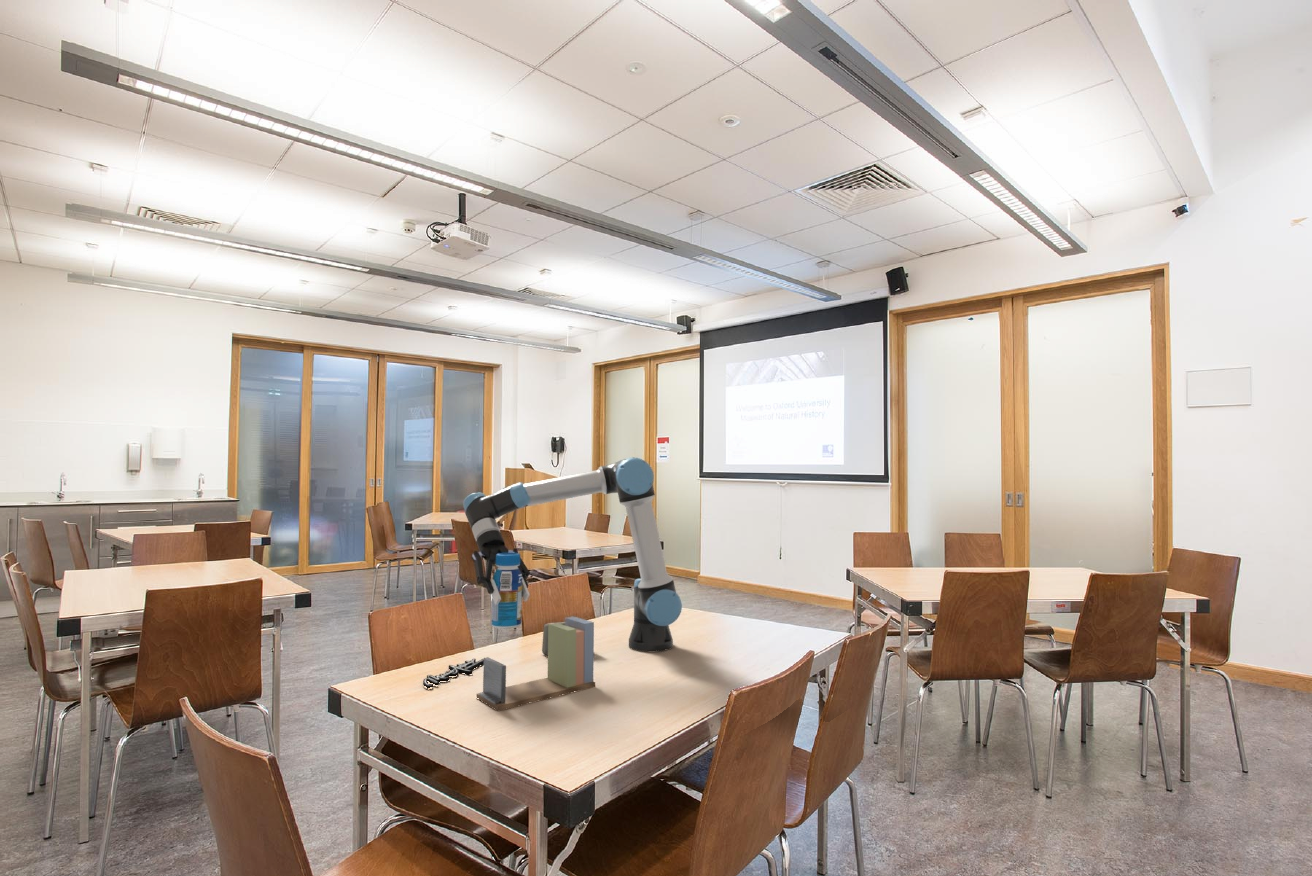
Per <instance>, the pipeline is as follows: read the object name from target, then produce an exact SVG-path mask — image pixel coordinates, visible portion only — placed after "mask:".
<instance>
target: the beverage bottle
mask: <svg viewBox="0 0 1312 876" xmlns="http://www.w3.org/2000/svg"><path fill="white" fill-rule="evenodd" d="M520 558H521V554H520V553H519V552H518V553H499V554H496V564H495V567H497V568H496V570H495V571H494V573H493V576H492V580H494V581H495V584H496V586H497V589H498V592H499V594H500V597H501V600H500V602H499V604H498V605H495V603H494V600H493V598H492V597H491V599H492V600H491V626H492V627H493V628H495V629H499V630H507V629H508V630H509V629H515V628H519V627H520V626H522V608H523V607H522V606H523V605H522V604H523V603H522V602H523V597H522V590H523V585H522V583H521V581H522V579H523V578H522V574H521V572H520V570H519V568H518V566H519V565H520Z"/></svg>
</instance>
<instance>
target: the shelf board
mask: <svg viewBox="0 0 1312 876" xmlns="http://www.w3.org/2000/svg"><path fill="white" fill-rule="evenodd" d="M595 687H596V682H595V681H593V682H589V683H585V684H580V685H576V686H572V687H568V688H566V687H564V686H562V685H560V684H558V683H555V682H553V681H551V680H549V679H548V677H544V678H539V679H536V680H532V681H527V682H523V683H517V684H514V685H510V686H506V697H505V703H502V704H500V703H499V704H494V703H492V702H490V701H488V700H487V699H485V698H483V697H482V696H480V695H479V693H482V692H483V691H482V692H477V693H476V697H477V698H479V699H480V700H482V701H483V702H485V703H487V704H488V705H490V706H491V707H490V706H489V707H490V708H492V707H493V708H492V709H494V708H495V709H496V710H495V709H494V710H495V711H497V710H500V711H504V710H507V709H506V708H508V709H511V707H512V708H516V707H519V706H518V705H520V706H524V705H528V704H530V703H529V702H532V703H536V702H539V701H538V700H540V701H544V700H548V699H551V698H550V697H552V698H556V697H560V696H559V695H561V696H563V695H562V694H565V695H568V693H569V694H572V693H571V692H573V693H575V692H574V691H577V692H580V691H584V690H588V689H589V690H590V689H592V688H595ZM477 698H476V699H477ZM547 698H548V699H547ZM480 700H479V701H480ZM482 701H481V702H482ZM535 701H536V702H535ZM483 702H482V703H483ZM485 703H484V704H485ZM527 703H528V704H527ZM487 704H486V705H487ZM515 706H516V707H515ZM503 709H504V710H503Z"/></svg>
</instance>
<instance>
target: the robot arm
mask: <svg viewBox="0 0 1312 876" xmlns="http://www.w3.org/2000/svg"><path fill="white" fill-rule="evenodd" d="M654 477H655V475H654V471H653V468H652V467H651V465H650V464H649V463H648V461H646V460H644V459H642V458H639V457H633V456H632V457H628V458H623V459H620V460H618V461H615V462H614V463H610V464H607V465H602V466H599V467H598V468H597V470H596V469H595V470H592V471H591V470H590V471H587V472H581V473H575V474H571V475H565V476H560V477H554V478H549V479H544V480H540V481H539V480H538V481H532V482H528V483H524V482H516V483H513V484H511V485H509V486H506V487H503V488H501V489H500V490H498V491H496V492H494V493H492V494H489V495H486V494H484V493H483V492H479V491H478V492H473V493H471V494H469V495H467V496H466V497H465V498H464V500H463V503H462V504H463V505H462V506H463V509H464V514H465V516H466V519H467V522H468V523H469V526H470V529H471V531H472V535H473V537H474V539H475V542H476V546H477V548H478V550H474V551H473V553H472V554H471V560H472V561H473V565H474V571H475V572H474V573H475V576H476V577H475V579H476V584H478V585H481V584H482V587H483V588H485V589H486V591H487V593H488V594H489V595H491V599H492V598H493V600H494V603H495V605H498V604H499V602H500V600H501V597H500V594H499V592H498V589H497V586H496V584H495V581H494V580H493V579H492V573H493V566H494V565H496V554H499V553H519V551H518V548H513V549H509V548H507V547H506V544H505V539H504V537H503V534H502V532H501V530H500V527H499V525H498V523H497V521H496V519H499V518H501V517H503V516H505V515H507V514H510V513H512V512H515V511H517V510H519V509H523V508H526V507H531V506H536V505H541V504H547V503H551V502H557V501H562V500H567V499H573V498H577V497H583V496H589V495H593V494H599V493H602V494H603V495H609V494H617V497H618V499H619V503H620V504H621V505H623V507H624V508H625V511H626V515H627V519H628V520H627V521H628V524H629V529H630V533H631V538H632V542H633V548H634V552H635V555H636V556H635V557H636V561H637V566H638V570H639V575H640V578H636V579H635V580H634V582H633V583H634V584H633V625H632V628H631V632H630V635H629V638H628V647H629V648H630V649H631V648H632V649H631V650H634V651H638V652H647V651H655V652H662V651H668V650H671V649H672V648H674V641H673V640H674V639H673V635H672V632H671V629H670V625H671V624H674V623H675V622H676V621H677V620H678V618H680V615H681V613H682V610H683V609H682V608H683V603H682V601H681V597H680V596H679V594H678V593H677V591H676V590H677V589H676V586H675V582H674V577H673V576H672V575H669V573H668V572H667V567H666V566H667V565H666V561H665V557H664V553H663V548H662V542H661V539H660V533H659V531H658V525H657V521H656V517H655V515H656V514H655V511H654V505H653V503H652V502H653V500H654V498H655V496H656V495H655V488H654V485H653V484H654V479H655V478H654ZM482 558H483V560H485V561H486V563H485V572H484V567H483V561H482ZM518 568H519V570H520V572H521V574H522V578H523V579H522V581H521V583H522V585H523V590H522V601H524V602H527V601H528V599H529V598H530V596H531V594H530V591H529V589H528V588H529V583H528V580H527V579H528V577H529V576H530V574H531V572H530V570H529V569H528V567H527V566H526V564H525V562H524V561H523V559H522V558H521V557H520V565H519V566H518ZM670 648H671V649H670Z"/></svg>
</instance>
